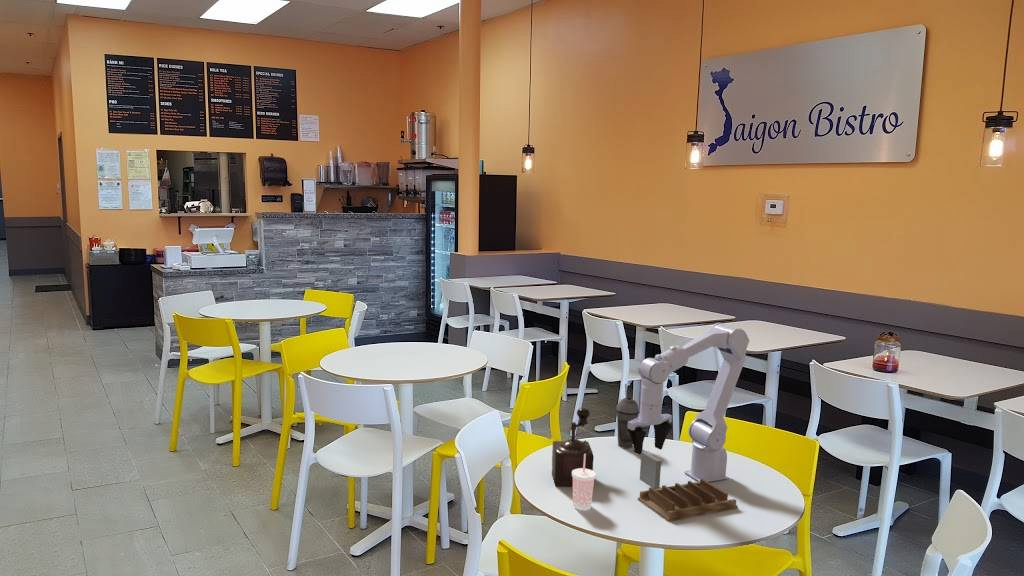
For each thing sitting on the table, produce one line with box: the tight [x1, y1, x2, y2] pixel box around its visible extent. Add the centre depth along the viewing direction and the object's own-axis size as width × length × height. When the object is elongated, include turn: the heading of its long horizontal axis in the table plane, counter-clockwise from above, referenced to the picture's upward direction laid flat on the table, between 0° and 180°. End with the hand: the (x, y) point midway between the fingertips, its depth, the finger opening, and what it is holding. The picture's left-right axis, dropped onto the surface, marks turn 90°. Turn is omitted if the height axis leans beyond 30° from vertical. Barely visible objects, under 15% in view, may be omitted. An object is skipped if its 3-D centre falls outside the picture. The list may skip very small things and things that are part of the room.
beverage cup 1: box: [572, 454, 597, 511], centre depth 181 cm, size 6×6×14 cm
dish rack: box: [637, 479, 738, 522], centre depth 186 cm, size 22×13×4 cm, turn 115°
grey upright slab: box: [639, 451, 662, 489], centre depth 198 cm, size 2×7×8 cm, turn 25°
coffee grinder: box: [551, 407, 594, 488], centre depth 200 cm, size 16×11×18 cm
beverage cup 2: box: [615, 383, 640, 449], centre depth 225 cm, size 7×7×20 cm
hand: (648, 450), depth 196 cm, fingers open, 7 cm apart
